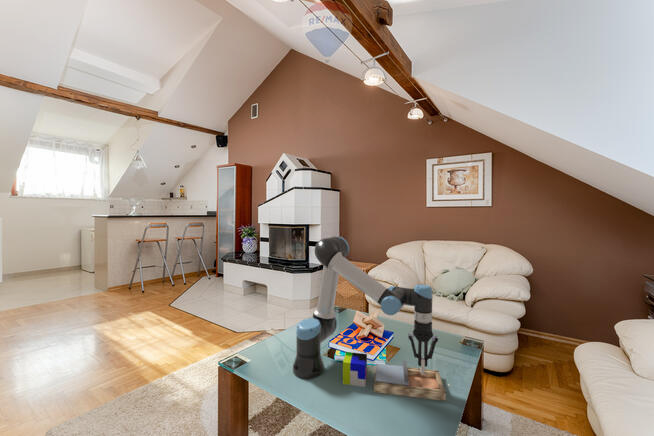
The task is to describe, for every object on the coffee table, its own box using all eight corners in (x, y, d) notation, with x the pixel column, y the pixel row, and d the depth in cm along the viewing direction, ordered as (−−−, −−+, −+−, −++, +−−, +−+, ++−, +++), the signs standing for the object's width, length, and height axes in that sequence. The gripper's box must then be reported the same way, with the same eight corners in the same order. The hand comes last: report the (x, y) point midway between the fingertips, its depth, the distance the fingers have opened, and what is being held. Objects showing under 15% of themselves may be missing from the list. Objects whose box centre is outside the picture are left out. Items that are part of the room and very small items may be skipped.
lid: (375, 381, 131) (375, 373, 131) (376, 365, 144) (376, 357, 144) (408, 385, 128) (408, 376, 128) (406, 368, 142) (406, 360, 142)
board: (374, 391, 129) (374, 384, 129) (375, 369, 147) (375, 363, 147) (445, 400, 123) (445, 392, 123) (438, 376, 141) (438, 369, 141)
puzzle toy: (365, 387, 133) (365, 364, 132) (342, 384, 135) (342, 362, 134) (366, 374, 143) (366, 353, 142) (345, 372, 145) (345, 351, 144)
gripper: (408, 322, 130) (407, 376, 131) (440, 324, 128) (439, 379, 128) (407, 316, 138) (406, 367, 138) (437, 318, 135) (436, 370, 136)
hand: (422, 372), depth 133 cm, fingers closed
